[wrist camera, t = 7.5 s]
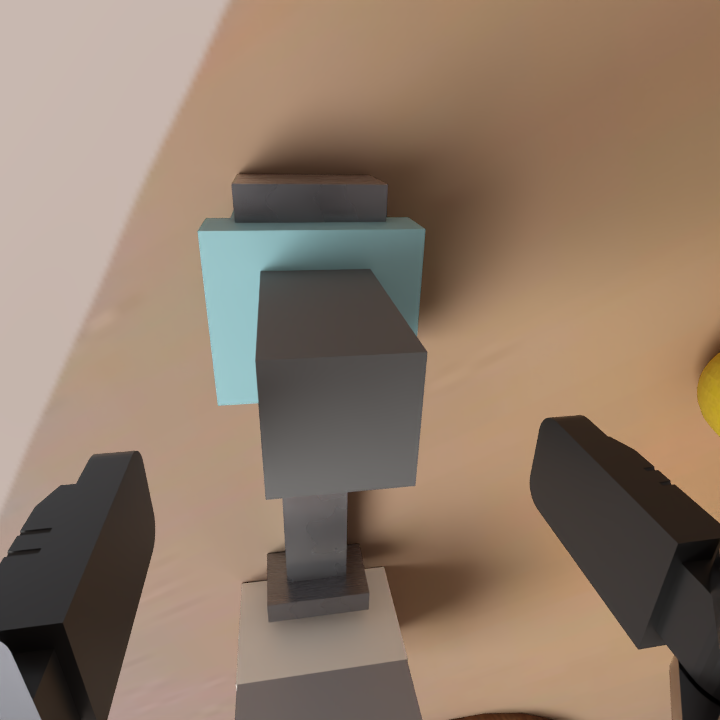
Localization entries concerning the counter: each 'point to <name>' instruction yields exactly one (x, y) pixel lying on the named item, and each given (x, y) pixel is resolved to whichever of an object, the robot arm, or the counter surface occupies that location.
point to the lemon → (710, 393)
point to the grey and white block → (323, 662)
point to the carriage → (320, 346)
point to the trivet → (503, 717)
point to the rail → (327, 511)
